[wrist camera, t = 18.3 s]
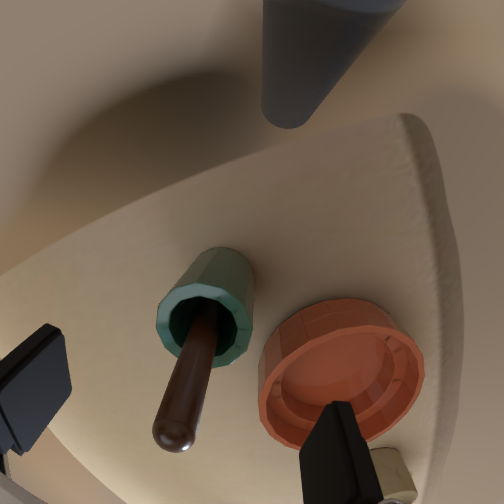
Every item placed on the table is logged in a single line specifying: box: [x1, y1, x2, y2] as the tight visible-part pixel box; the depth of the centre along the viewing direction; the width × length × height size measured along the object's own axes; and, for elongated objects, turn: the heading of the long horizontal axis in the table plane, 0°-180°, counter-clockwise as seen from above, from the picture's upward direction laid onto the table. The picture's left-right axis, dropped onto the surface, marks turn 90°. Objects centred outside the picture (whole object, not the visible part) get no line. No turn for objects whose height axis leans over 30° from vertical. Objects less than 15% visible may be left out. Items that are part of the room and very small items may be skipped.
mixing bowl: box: [258, 298, 425, 451], centre depth 23 cm, size 14×14×6 cm
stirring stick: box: [152, 297, 226, 453], centre depth 16 cm, size 2×2×16 cm
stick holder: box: [156, 247, 255, 368], centre depth 20 cm, size 5×5×9 cm
